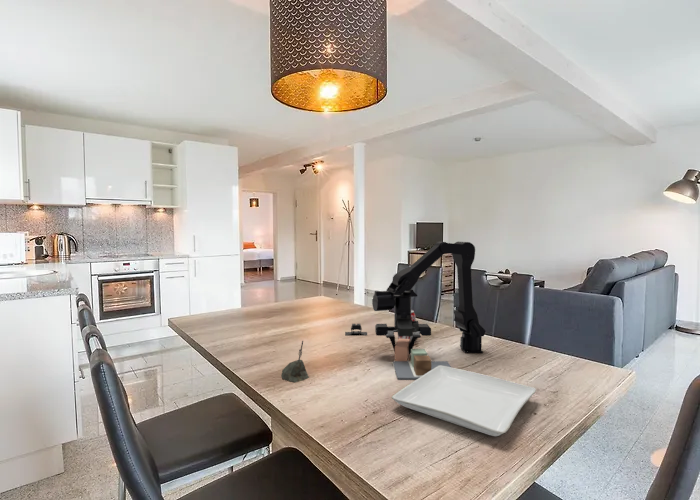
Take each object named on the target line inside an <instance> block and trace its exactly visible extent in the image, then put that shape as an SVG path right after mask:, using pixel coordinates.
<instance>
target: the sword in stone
mask: <svg viewBox="0 0 700 500" xmlns="http://www.w3.org/2000/svg"><path fill="white" fill-rule="evenodd" d="M303 344H304V340H302V341H301V344H300V349H298V350H299V351H298V359H297V360H294V361H291V362H289V363H288V364H287V365H286V366H284V368H283V369H282V372H281V374H280V375H281V379H282V380H284V381H288V382H290V383H293V384H294V383H299V382H302V381H303V382H304V381H306V380H307V379H308V378H310V376H309V374H308V372H307V370H306V366H305V363H304V361H303V360H302V359H301V358H302V354H303Z"/></svg>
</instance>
